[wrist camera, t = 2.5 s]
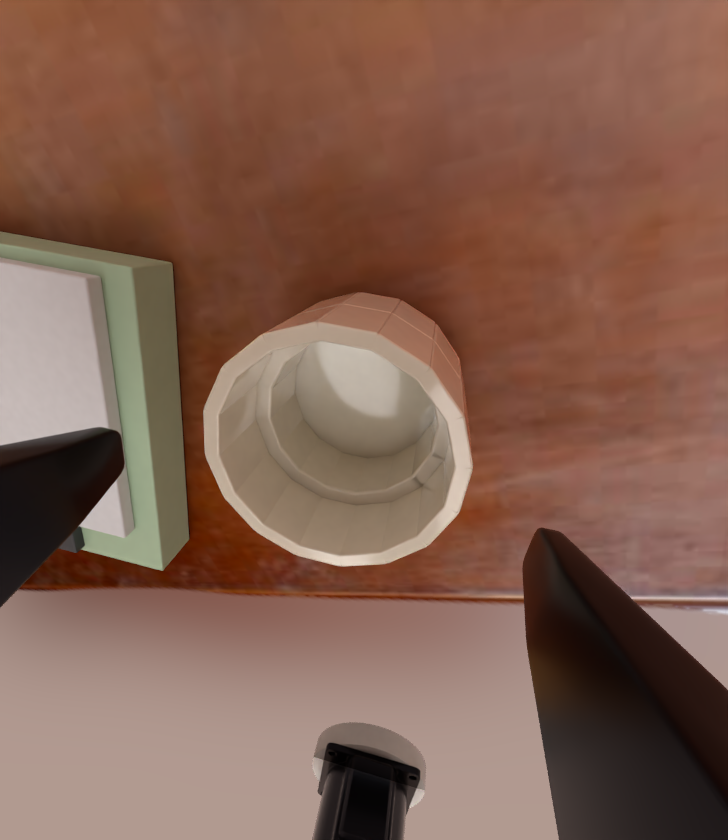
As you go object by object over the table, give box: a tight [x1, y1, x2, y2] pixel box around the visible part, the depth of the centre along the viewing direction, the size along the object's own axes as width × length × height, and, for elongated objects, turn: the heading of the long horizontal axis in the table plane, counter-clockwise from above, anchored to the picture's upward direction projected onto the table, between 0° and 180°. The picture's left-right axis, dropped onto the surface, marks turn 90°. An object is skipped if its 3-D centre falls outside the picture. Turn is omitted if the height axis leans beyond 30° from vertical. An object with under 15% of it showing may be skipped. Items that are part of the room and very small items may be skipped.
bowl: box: [203, 292, 473, 567], centre depth 12 cm, size 6×6×5 cm
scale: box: [0, 232, 189, 571], centre depth 16 cm, size 12×12×3 cm
